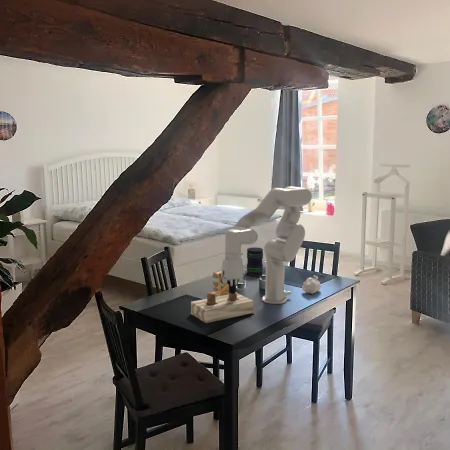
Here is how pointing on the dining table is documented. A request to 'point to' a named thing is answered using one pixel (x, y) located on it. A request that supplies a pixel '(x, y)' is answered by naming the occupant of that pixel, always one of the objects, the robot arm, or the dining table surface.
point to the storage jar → (254, 261)
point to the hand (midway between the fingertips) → (232, 292)
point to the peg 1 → (211, 298)
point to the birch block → (221, 308)
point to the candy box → (219, 285)
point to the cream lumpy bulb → (311, 285)
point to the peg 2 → (233, 296)
